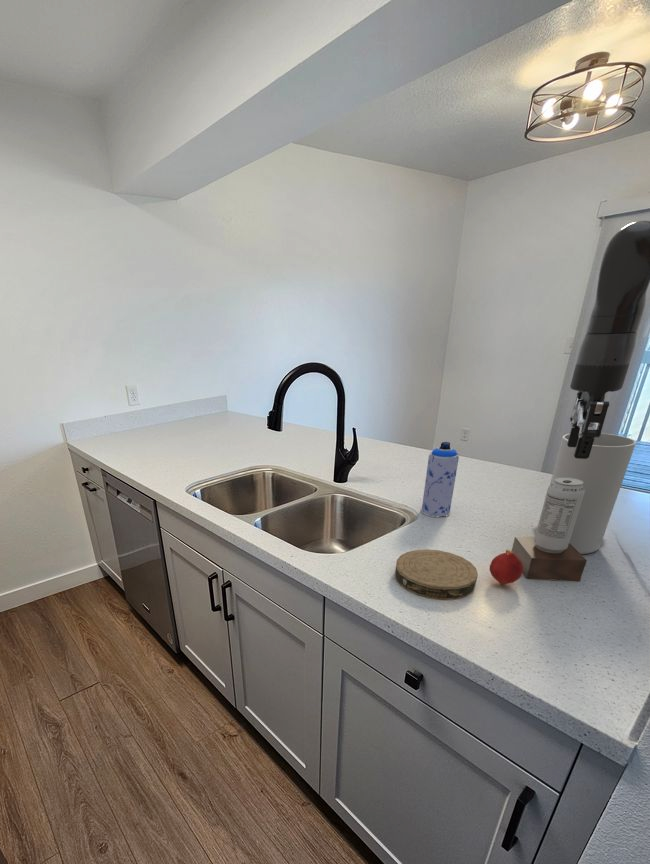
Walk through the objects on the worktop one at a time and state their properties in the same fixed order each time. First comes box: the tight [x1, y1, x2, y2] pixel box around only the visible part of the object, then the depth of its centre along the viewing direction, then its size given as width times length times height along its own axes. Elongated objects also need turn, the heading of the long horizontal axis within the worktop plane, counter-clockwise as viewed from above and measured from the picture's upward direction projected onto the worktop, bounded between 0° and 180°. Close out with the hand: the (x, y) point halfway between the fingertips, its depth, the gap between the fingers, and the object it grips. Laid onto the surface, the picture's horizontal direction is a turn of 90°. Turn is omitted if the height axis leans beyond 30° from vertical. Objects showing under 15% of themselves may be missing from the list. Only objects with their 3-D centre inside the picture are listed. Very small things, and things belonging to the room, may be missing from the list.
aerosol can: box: [420, 441, 460, 517], centre depth 120 cm, size 8×8×20 cm
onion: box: [489, 549, 523, 586], centre depth 88 cm, size 6×6×8 cm
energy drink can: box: [534, 477, 585, 553], centre depth 89 cm, size 6×6×15 cm
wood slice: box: [394, 548, 479, 601], centre depth 92 cm, size 16×16×3 cm
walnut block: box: [511, 536, 587, 582], centre depth 93 cm, size 10×10×5 cm
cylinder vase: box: [549, 432, 637, 555], centre depth 98 cm, size 12×12×25 cm
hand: (576, 452), depth 83 cm, fingers open, 8 cm apart
